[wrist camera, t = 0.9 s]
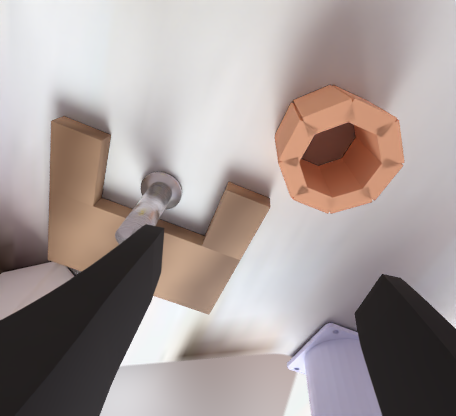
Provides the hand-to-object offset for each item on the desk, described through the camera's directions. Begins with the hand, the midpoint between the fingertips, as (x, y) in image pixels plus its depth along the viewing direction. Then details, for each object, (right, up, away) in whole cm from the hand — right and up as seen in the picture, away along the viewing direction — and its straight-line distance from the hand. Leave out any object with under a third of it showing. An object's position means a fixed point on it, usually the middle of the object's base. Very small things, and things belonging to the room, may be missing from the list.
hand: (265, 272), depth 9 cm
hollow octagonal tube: (+4, +6, +7) cm, 10 cm away
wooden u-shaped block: (-7, +1, +12) cm, 14 cm away
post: (-6, +3, +10) cm, 12 cm away
